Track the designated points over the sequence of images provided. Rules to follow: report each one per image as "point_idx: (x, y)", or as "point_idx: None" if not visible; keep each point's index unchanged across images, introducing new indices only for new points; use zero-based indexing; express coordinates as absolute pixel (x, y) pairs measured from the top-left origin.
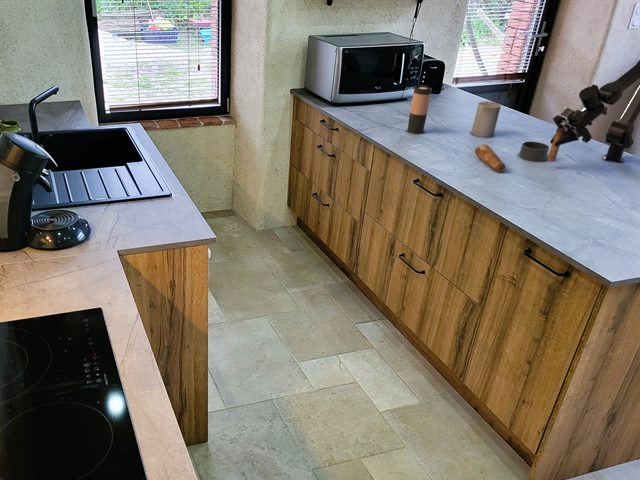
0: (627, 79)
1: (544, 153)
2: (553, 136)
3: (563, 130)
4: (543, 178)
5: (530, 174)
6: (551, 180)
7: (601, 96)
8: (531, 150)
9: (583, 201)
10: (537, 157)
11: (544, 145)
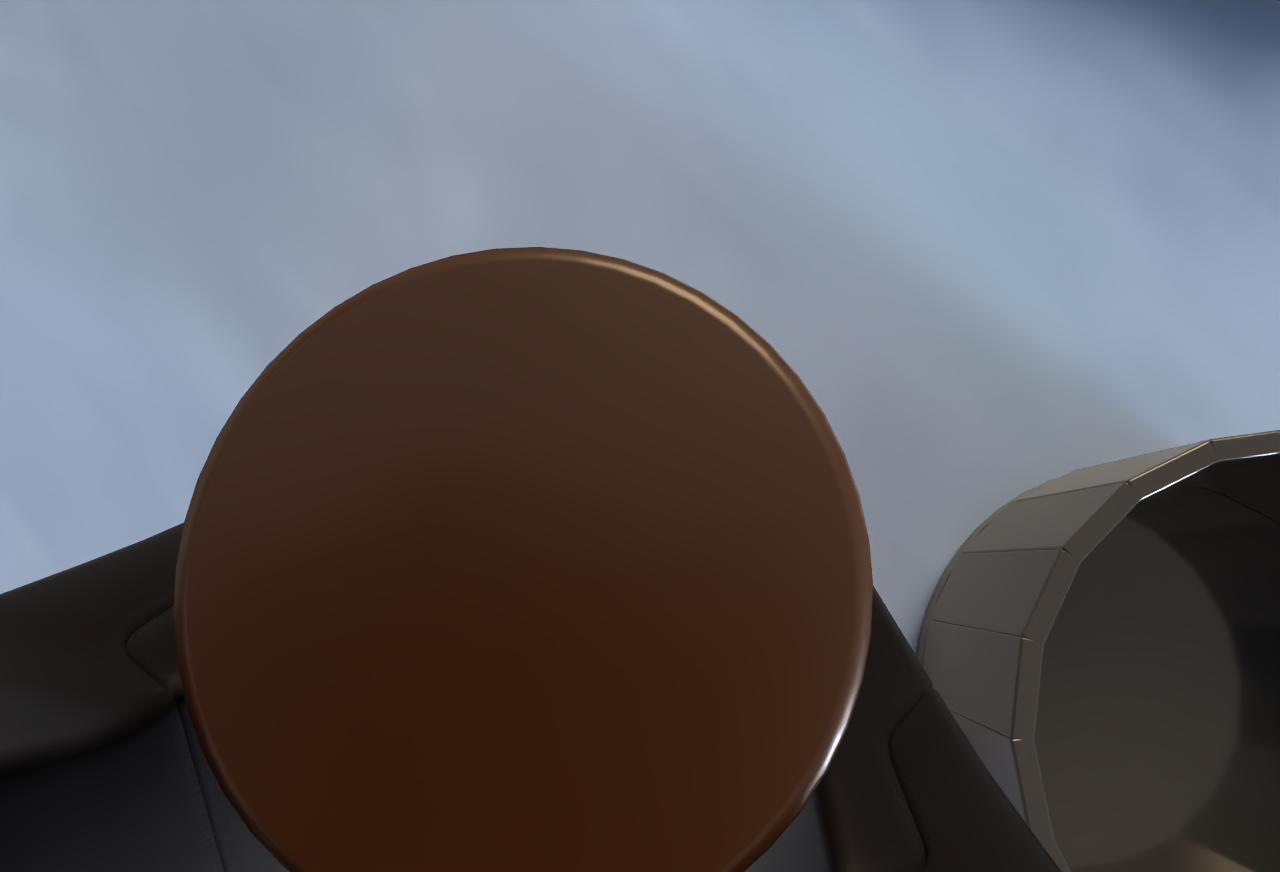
0: None
1: (972, 736)
2: (876, 592)
3: (192, 556)
4: (296, 106)
5: (495, 49)
6: (187, 154)
7: None
8: (1126, 474)
9: None
10: (963, 590)
11: None
